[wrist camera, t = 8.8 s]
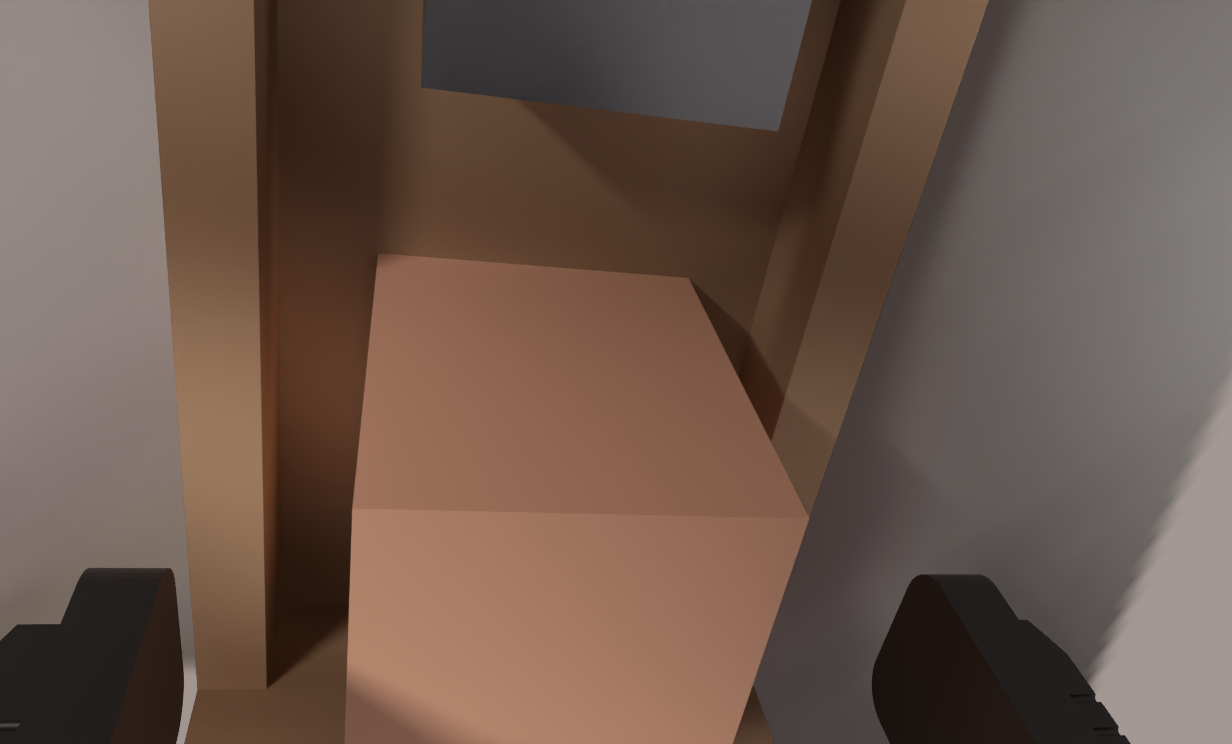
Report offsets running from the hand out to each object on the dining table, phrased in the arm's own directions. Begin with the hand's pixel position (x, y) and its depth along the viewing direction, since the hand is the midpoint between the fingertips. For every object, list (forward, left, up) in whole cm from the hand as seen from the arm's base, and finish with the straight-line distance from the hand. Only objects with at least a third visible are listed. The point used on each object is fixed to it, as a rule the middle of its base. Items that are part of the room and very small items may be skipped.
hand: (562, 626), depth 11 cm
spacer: (0, 0, -5) cm, 5 cm away
